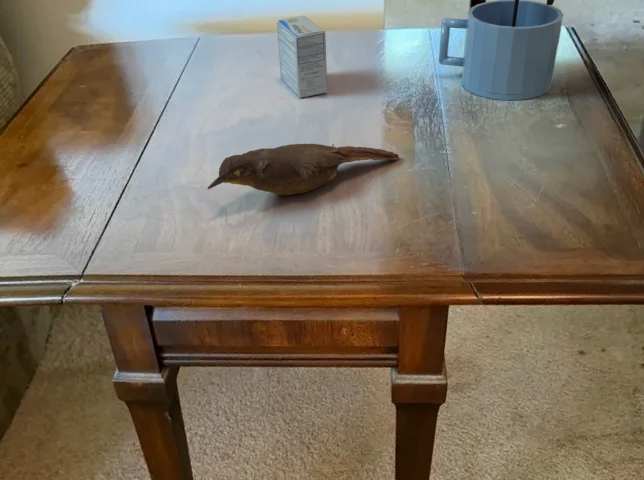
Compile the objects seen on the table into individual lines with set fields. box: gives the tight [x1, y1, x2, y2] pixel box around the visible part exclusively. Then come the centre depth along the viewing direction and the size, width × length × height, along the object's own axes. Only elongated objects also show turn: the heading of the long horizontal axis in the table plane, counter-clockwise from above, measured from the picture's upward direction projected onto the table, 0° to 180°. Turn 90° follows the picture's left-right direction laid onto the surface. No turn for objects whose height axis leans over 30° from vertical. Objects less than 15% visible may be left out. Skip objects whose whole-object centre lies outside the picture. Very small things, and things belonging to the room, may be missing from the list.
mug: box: [438, 0, 564, 101], centre depth 105 cm, size 16×12×10 cm
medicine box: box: [276, 15, 328, 99], centre depth 106 cm, size 8×4×9 cm, turn 20°
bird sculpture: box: [207, 143, 400, 196], centre depth 85 cm, size 7×25×5 cm, turn 122°
